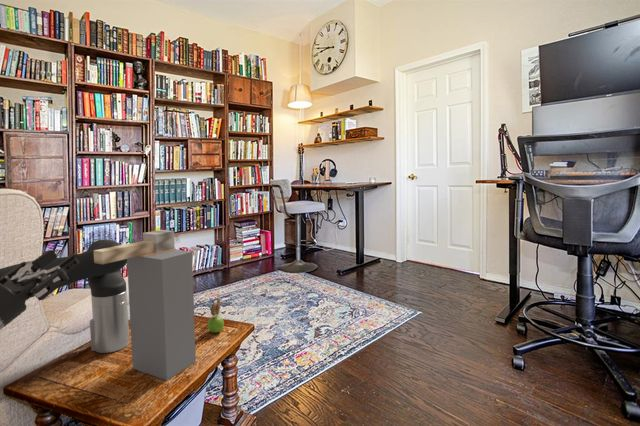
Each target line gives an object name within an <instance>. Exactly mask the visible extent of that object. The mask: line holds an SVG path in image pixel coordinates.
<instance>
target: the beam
mask: <svg viewBox="0 0 640 426" xmlns="http://www.w3.org/2000/svg"><path fill="white" fill-rule="evenodd" d="M171 249H176V247H175V231H174V230H166V229H158V230H152V231H147V232H142V241H135V242H131V243H126V244H122V245H120V246H114V247H109V248H104V249H99V250H93V251H94V263H97V264H107V263H111V262H115V261H119V260H124V259H128V258H132V257H137V256H141V255H145V254H150V253H158V252H162V251H167V250H171Z"/></svg>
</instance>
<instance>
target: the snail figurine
mask: <svg viewBox="0 0 640 426" xmlns="http://www.w3.org/2000/svg"><path fill="white" fill-rule="evenodd" d="M216 295H217V298H216V302H213V303H212V304H211V307H210V315H211V317H210V318H209V319H208V321H207V323H206V324H207V329H208V331H209V332H211V333H214V334H216V333H220V332H221V331H222V330H223V328H224V326H225V321H224V319H223V318H222V317H221V316H220V312H221V295H222V294H220V293H219V294H216Z"/></svg>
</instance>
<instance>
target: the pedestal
mask: <svg viewBox="0 0 640 426" xmlns="http://www.w3.org/2000/svg"><path fill="white" fill-rule="evenodd" d="M126 265H127V266H126V268H127V283H128V284H127V286H128V301H129V325H130V339H131V358H132V359H131V361H132V369H133V370H135V371H139V372H142V373H144V374H148V375H150V376H153V377H156V378H158V379H162V380H164V381H168V380H169V381H170V379H172V378H173V377H175V376H177V375H178V374H179V373H181V372H183V371H184V370H185V369H187V368H189V367H190V366H192V365H193V364H195V363H196V362H197V361H196V360H197V359H196V354H197V353H196V334H195V333H196V331H195V329H196V328H195V327H196V326H195V301H194V300H195V299H194V298H195V297H194V273H193V272H194V270H193V267H194V266H193V251H188V250H181V249H177V248H175V249H171V250H167V251H162V252H158V253H150V254H145V255H141V256H137V257H132V258H128V259H127V264H126Z"/></svg>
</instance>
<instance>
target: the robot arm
mask: <svg viewBox="0 0 640 426" xmlns="http://www.w3.org/2000/svg"><path fill="white" fill-rule="evenodd" d="M120 245H123V243H120V242H118V241H115V240H111V239H106V238H105V239H104V238H103V239H98V240H95V241H93V242H92V243H91V244H90V245H89V246H88V247H87V250H86V251H84V252H81V253H78V254H75V253H72V254H70V255H69V256H63V257H61V256H60V257H58V255H57V253H56V252H55V251H54V250H52V249H47V251H45V252H44V253H43V254H41V255H40V256H38V257H37V258H36V259H34V260H29V261H23V262H20V263H17V264H13V265H8V266H5V267H1V268H0V331H2V329H4V328H5V327H6V326H7V325H9V324H10V323H11V322H13V321H14V320H15V319H16V318H18V317H19V316H21V314H23V312H25V311H27V305H26V302H27V301H28V300H30V299H31V298H33V297H35V298H36V299H37V300H38V301H43V300H44V299H45V298H47V297H48V296H50V295H51V294H52V293H53V292H55V291H57V290H58V289H60V288H63V287H66V286H68V285H71V284H73V283H76V282H79V281H82V280H86V279H87V283H88V286H89V289H90V298H91V310H92V318H91V319H90V320H89V333H90V343H91V344H90V345H91V346H90V347H91V348H90V349H91V352H97V353H100V354H109V353H113V352H118V351H120V350H123V349H124V348H126V347H127V346H129V344H130V332H129V331H130V329H129V311H128V310H129V309H128V295H127V293H128V292H127V282H126V279H124V277H123V275H122V269H123V268H124V267H125V266H126V265H127V259H124V260H119V261H115V262H111V263H107V264H97V263H94V251H93V250H99V249H104V248H109V247H114V246H120Z"/></svg>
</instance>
